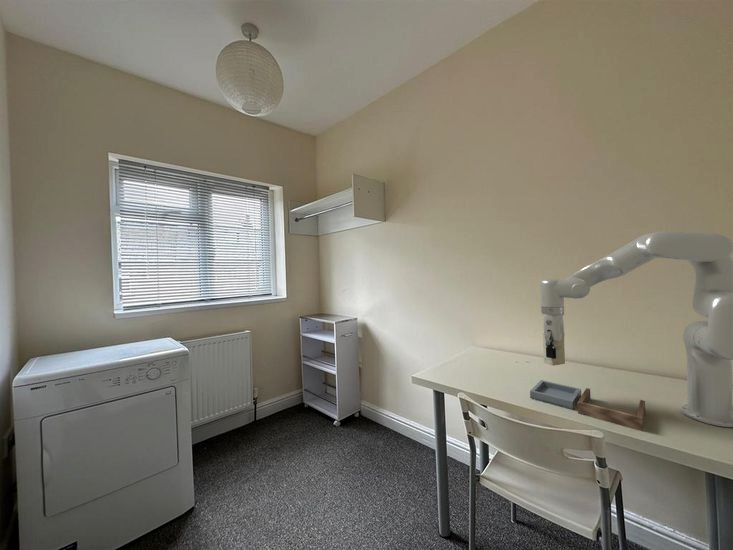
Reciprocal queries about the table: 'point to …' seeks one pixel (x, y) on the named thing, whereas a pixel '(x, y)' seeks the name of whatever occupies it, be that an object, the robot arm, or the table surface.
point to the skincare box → (559, 352)
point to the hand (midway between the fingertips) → (554, 354)
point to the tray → (556, 394)
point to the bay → (611, 413)
